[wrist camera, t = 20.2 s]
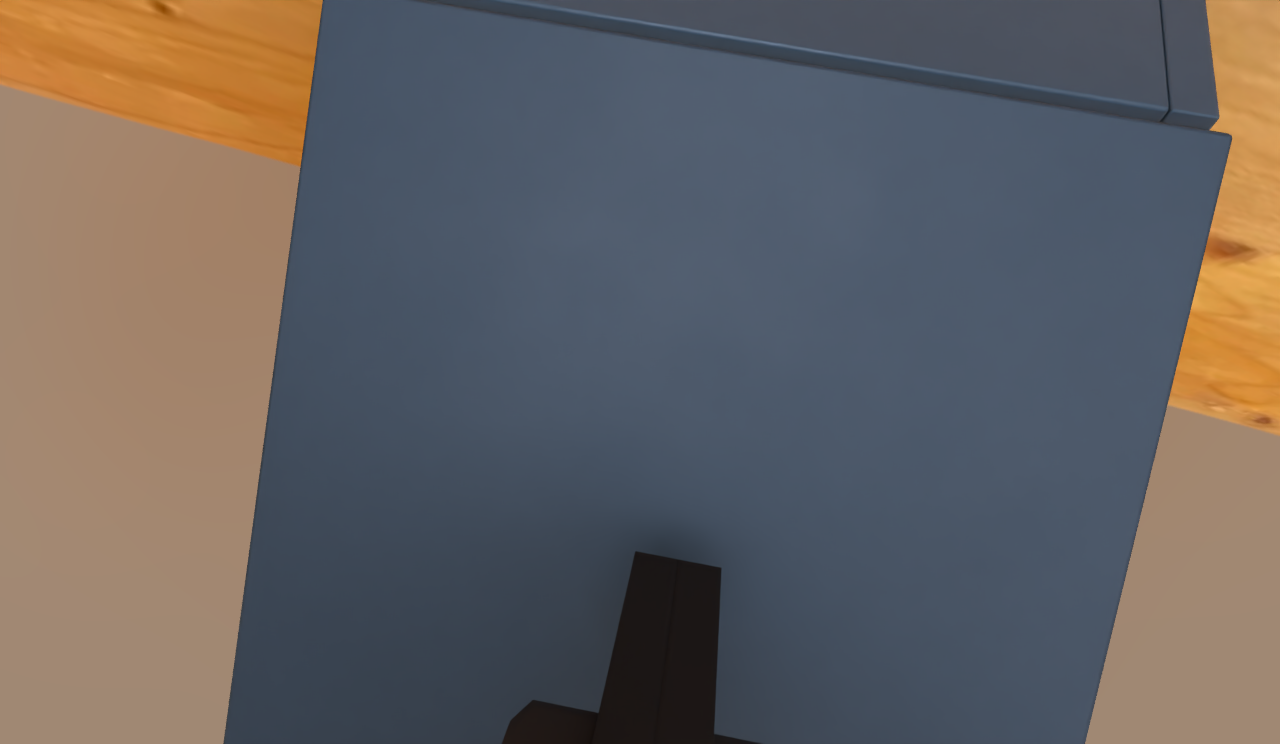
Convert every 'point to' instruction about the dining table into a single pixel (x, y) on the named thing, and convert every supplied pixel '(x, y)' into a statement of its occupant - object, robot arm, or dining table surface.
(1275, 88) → the dining table surface
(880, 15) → the box
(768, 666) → the lid
